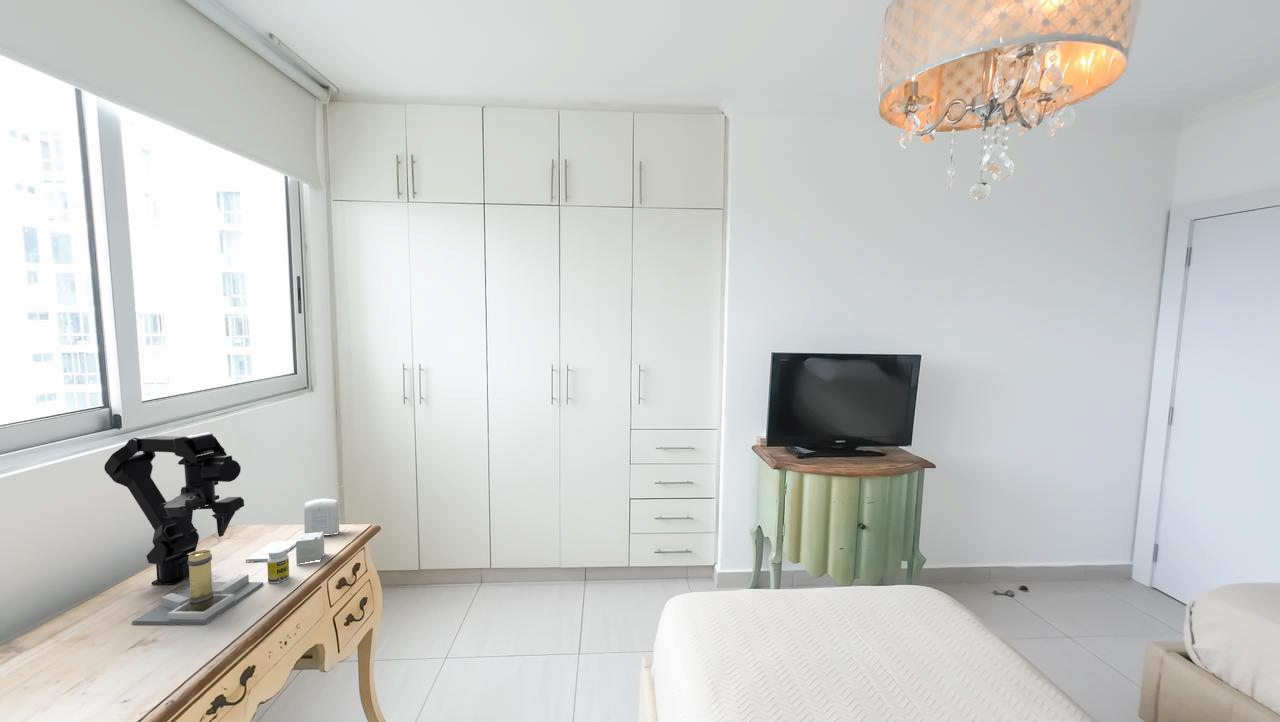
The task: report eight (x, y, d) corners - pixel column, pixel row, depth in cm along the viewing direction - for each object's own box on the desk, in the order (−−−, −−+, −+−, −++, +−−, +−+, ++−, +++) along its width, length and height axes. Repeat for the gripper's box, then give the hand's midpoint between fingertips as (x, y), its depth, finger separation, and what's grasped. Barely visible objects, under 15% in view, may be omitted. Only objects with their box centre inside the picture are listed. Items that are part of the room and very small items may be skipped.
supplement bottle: (277, 584, 133) (276, 554, 133) (263, 583, 134) (262, 553, 134) (293, 576, 138) (292, 547, 138) (279, 574, 139) (278, 545, 139)
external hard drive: (299, 545, 159) (274, 563, 147) (272, 546, 159) (245, 564, 146) (299, 540, 159) (274, 557, 147) (272, 541, 158) (245, 558, 146)
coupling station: (132, 624, 115) (131, 611, 115) (200, 584, 133) (199, 574, 133) (205, 624, 115) (204, 612, 115) (263, 585, 133) (262, 574, 133)
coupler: (185, 615, 118) (182, 558, 117) (197, 605, 122) (194, 550, 121) (207, 613, 119) (204, 556, 118) (218, 603, 123) (215, 548, 122)
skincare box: (301, 557, 150) (300, 533, 149) (324, 553, 152) (324, 530, 152) (296, 565, 144) (295, 541, 144) (320, 562, 147) (319, 538, 146)
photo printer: (341, 531, 169) (340, 495, 169) (336, 536, 165) (335, 500, 164) (308, 533, 167) (306, 497, 166) (302, 538, 163) (301, 502, 162)
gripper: (134, 490, 124) (139, 550, 125) (208, 488, 124) (213, 548, 125) (175, 477, 135) (180, 533, 136) (243, 476, 135) (247, 531, 136)
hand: (204, 536), depth 133 cm, fingers open, 9 cm apart
